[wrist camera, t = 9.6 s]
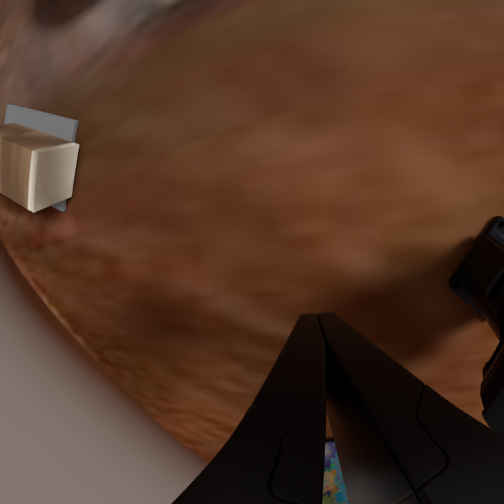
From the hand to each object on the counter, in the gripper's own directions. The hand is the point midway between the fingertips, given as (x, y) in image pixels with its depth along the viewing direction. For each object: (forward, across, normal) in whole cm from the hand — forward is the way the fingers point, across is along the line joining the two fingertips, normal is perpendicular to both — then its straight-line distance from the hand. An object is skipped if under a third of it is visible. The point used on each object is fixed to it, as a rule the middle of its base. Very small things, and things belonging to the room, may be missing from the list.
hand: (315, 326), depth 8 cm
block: (+13, -17, +2) cm, 21 cm away
